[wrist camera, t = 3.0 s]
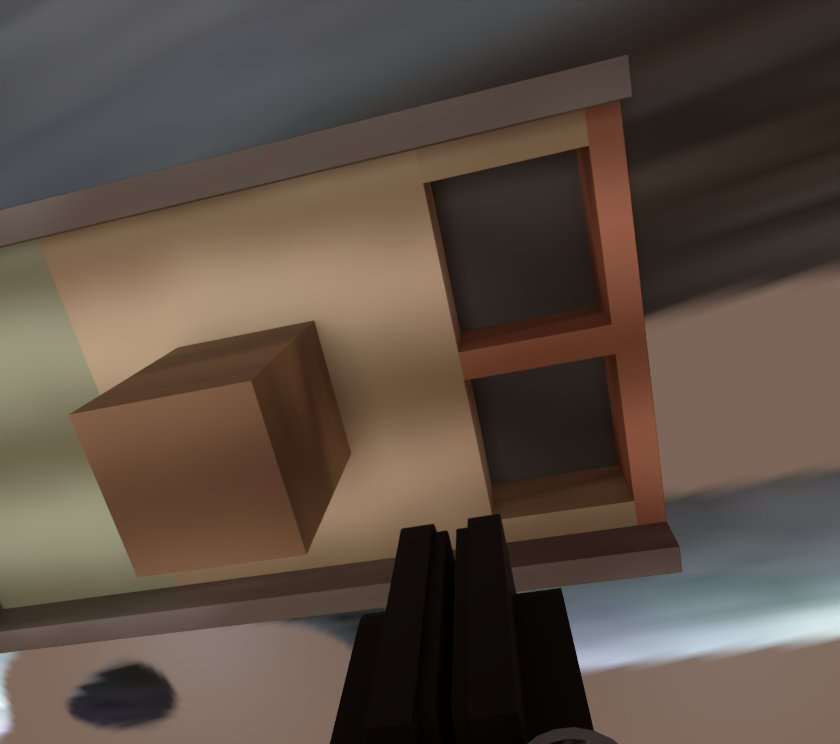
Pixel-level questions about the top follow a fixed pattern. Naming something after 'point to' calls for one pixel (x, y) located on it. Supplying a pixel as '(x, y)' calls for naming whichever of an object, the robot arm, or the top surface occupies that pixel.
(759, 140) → the top surface
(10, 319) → the box
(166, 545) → the walnut block
